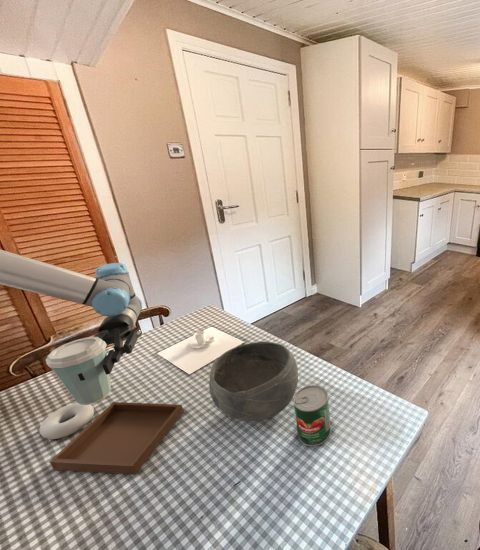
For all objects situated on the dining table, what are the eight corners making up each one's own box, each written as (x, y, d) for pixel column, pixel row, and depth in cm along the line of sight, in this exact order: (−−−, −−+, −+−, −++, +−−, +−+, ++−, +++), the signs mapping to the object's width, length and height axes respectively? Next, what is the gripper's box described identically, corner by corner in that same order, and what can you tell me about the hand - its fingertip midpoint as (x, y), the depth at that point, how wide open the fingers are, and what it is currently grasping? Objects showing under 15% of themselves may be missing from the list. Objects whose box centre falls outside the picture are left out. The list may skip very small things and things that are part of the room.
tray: (53, 470, 65) (48, 461, 64) (116, 409, 80) (113, 401, 79) (135, 474, 64) (132, 466, 63) (184, 412, 79) (181, 404, 78)
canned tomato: (326, 414, 78) (323, 381, 74) (334, 440, 71) (332, 404, 67) (295, 424, 75) (291, 390, 71) (301, 451, 69) (296, 415, 64)
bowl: (220, 390, 86) (209, 346, 81) (295, 372, 93) (290, 331, 88) (214, 454, 68) (200, 403, 63) (307, 425, 75) (302, 377, 69)
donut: (100, 422, 77) (91, 403, 83) (96, 412, 75) (86, 393, 81) (46, 450, 70) (39, 427, 75) (39, 440, 68) (34, 416, 74)
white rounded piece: (220, 341, 109) (218, 331, 107) (199, 352, 103) (196, 342, 101) (206, 334, 113) (203, 324, 112) (184, 344, 107) (182, 335, 106)
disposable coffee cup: (57, 406, 73) (30, 355, 67) (104, 376, 83) (84, 330, 77) (87, 416, 70) (62, 363, 64) (132, 384, 80) (114, 336, 74)
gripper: (155, 328, 95) (142, 374, 75) (86, 343, 88) (51, 397, 68) (148, 307, 92) (133, 349, 72) (76, 320, 85) (37, 370, 65)
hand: (93, 372), depth 70 cm, fingers open, 4 cm apart
